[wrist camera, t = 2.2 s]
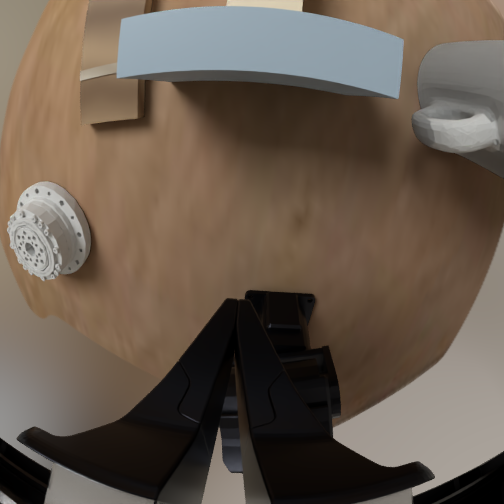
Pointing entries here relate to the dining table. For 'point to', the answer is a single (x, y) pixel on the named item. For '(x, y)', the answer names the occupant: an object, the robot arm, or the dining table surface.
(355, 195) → the dining table surface
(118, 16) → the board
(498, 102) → the coffee mug
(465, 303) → the dining table surface
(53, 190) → the mechanical component
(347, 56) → the light blue upright panel
